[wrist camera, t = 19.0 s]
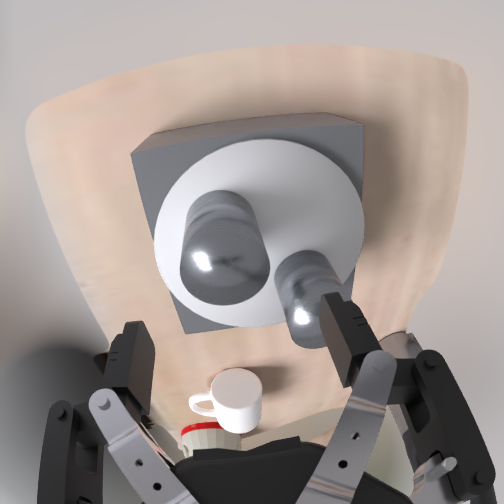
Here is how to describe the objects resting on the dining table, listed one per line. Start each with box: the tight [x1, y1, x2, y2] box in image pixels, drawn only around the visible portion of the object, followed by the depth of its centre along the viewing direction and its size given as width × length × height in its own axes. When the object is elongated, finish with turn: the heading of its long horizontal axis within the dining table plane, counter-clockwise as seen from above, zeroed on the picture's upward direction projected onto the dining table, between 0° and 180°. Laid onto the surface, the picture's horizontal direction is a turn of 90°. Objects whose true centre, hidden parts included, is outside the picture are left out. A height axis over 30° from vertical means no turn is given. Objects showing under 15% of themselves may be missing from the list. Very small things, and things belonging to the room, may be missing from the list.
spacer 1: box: [180, 190, 270, 306], centre depth 19 cm, size 5×5×6 cm
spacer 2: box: [274, 250, 353, 349], centre depth 22 cm, size 5×5×6 cm
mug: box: [189, 368, 262, 433], centre depth 44 cm, size 12×10×8 cm
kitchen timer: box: [181, 422, 241, 458], centre depth 53 cm, size 14×14×15 cm
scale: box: [131, 113, 365, 334], centre depth 27 cm, size 18×18×9 cm
